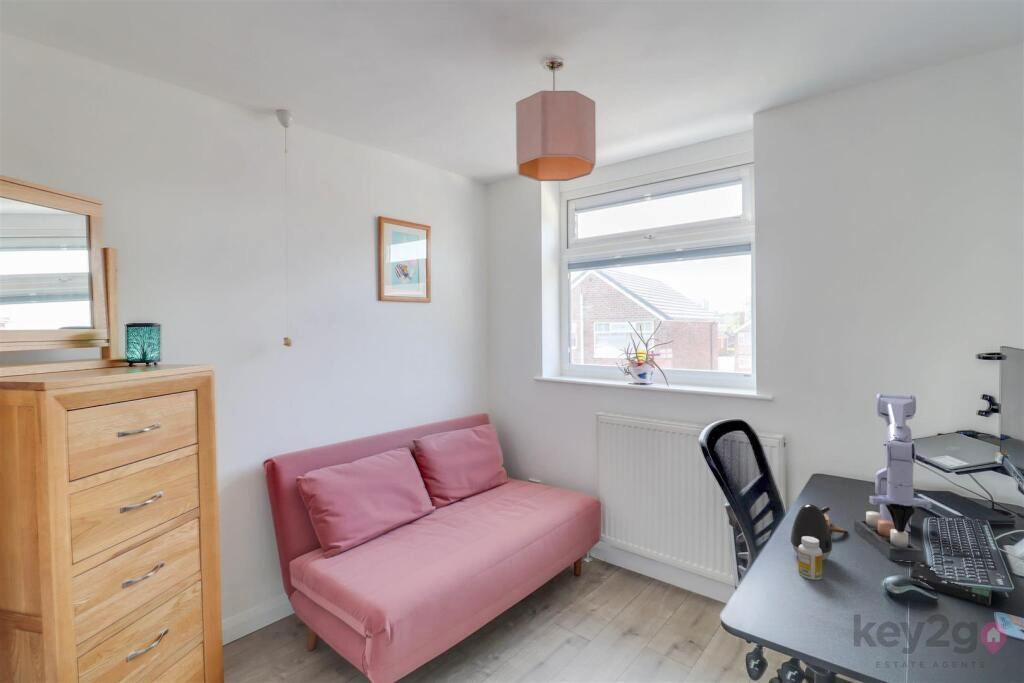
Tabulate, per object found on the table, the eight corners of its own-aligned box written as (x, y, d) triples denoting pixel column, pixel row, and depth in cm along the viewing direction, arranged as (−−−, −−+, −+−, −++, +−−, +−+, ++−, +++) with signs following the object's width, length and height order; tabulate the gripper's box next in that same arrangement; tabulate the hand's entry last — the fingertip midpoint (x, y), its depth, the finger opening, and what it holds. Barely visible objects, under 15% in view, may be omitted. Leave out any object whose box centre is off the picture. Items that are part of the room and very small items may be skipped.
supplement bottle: (818, 572, 131) (819, 536, 130) (824, 581, 126) (825, 544, 125) (796, 568, 132) (796, 533, 132) (800, 578, 127) (801, 541, 127)
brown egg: (874, 532, 148) (875, 519, 148) (889, 533, 147) (890, 520, 147) (881, 537, 144) (882, 524, 144) (897, 538, 144) (897, 525, 143)
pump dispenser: (842, 565, 134) (842, 510, 134) (806, 566, 134) (806, 511, 133) (816, 548, 144) (816, 497, 144) (782, 549, 144) (783, 498, 143)
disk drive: (910, 586, 124) (991, 608, 114) (910, 575, 124) (991, 596, 114) (915, 571, 132) (992, 591, 121) (914, 561, 132) (991, 580, 121)
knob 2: (887, 542, 142) (887, 528, 141) (903, 543, 141) (903, 529, 141) (895, 548, 138) (895, 534, 138) (911, 549, 137) (911, 535, 137)
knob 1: (863, 523, 155) (863, 510, 155) (877, 524, 154) (877, 511, 154) (869, 528, 151) (870, 515, 151) (884, 529, 150) (884, 516, 150)
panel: (854, 530, 157) (854, 519, 157) (882, 532, 155) (882, 521, 155) (889, 560, 137) (890, 548, 137) (922, 563, 135) (922, 550, 135)
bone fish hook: (844, 548, 146) (848, 526, 161) (845, 532, 146) (849, 513, 160) (808, 539, 152) (815, 519, 166) (809, 524, 152) (815, 506, 166)
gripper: (878, 486, 136) (877, 534, 137) (938, 489, 133) (937, 538, 134) (865, 478, 143) (865, 524, 144) (922, 481, 140) (922, 528, 140)
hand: (899, 530), depth 139 cm, fingers closed
